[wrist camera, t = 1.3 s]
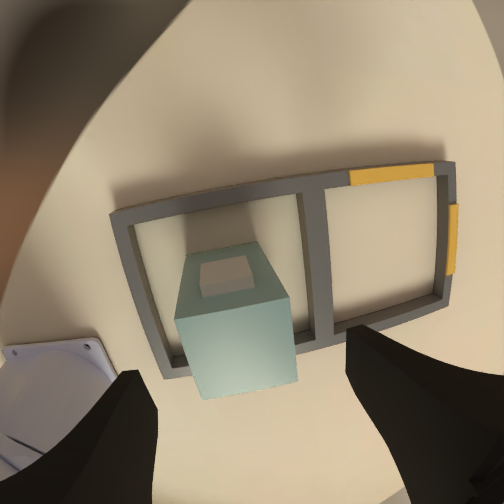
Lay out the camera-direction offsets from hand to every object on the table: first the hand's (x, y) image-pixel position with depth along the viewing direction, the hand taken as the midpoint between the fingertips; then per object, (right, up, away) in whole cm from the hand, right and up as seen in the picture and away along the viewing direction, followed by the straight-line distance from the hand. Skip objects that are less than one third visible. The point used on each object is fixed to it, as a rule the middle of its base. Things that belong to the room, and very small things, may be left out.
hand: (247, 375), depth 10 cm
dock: (+4, +3, +8) cm, 10 cm away
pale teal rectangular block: (-1, +2, +8) cm, 8 cm away
